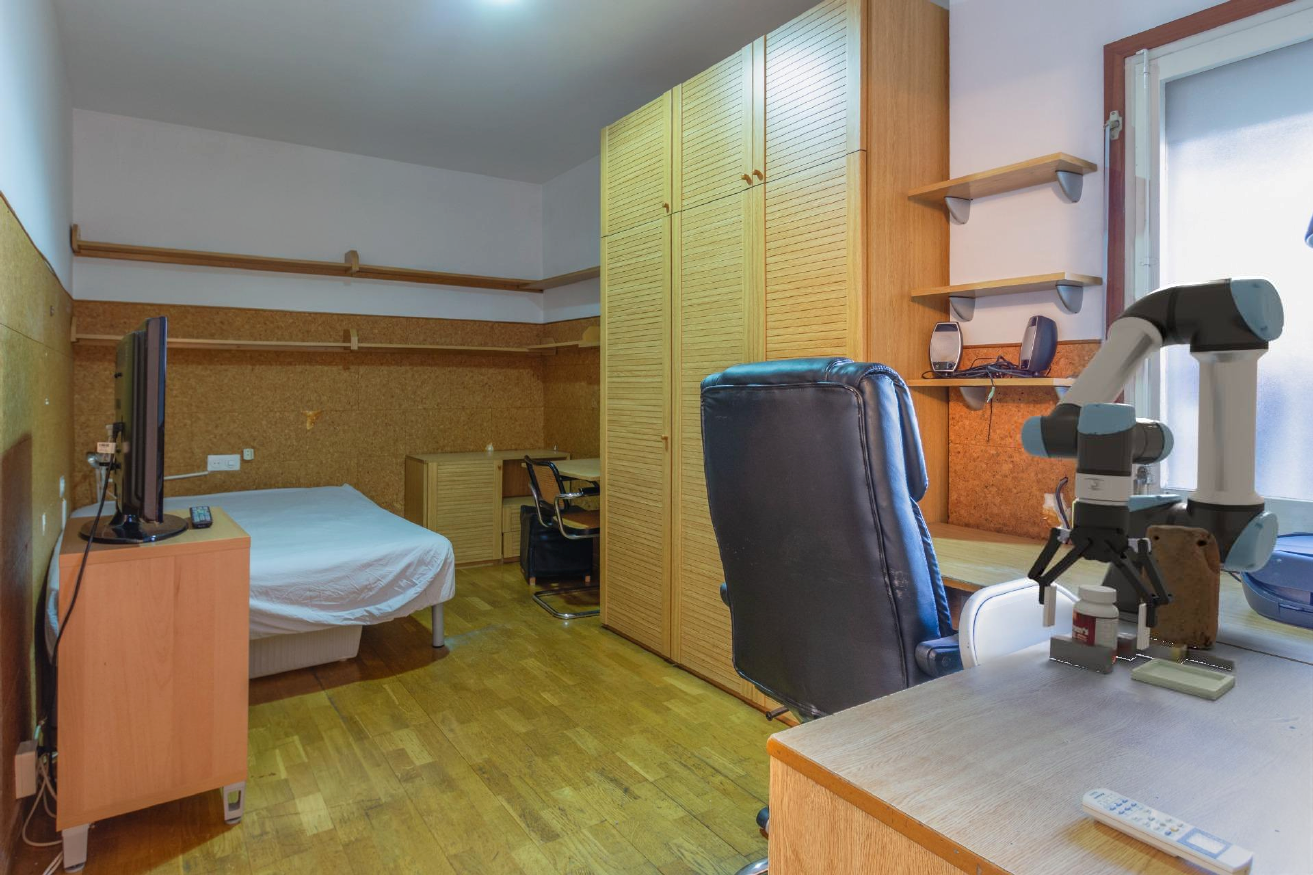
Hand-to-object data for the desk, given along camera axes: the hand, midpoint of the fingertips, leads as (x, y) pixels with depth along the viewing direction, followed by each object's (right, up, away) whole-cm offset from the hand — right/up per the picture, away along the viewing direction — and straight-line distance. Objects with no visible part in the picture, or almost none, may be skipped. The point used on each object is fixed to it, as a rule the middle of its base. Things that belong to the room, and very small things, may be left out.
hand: (1093, 636), depth 117 cm
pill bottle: (0, -4, 0) cm, 4 cm away
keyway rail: (+15, -4, +3) cm, 16 cm away
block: (+21, -4, +11) cm, 24 cm away
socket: (0, -4, 0) cm, 4 cm away
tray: (+8, -4, -9) cm, 13 cm away
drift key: (+10, -4, +3) cm, 11 cm away
